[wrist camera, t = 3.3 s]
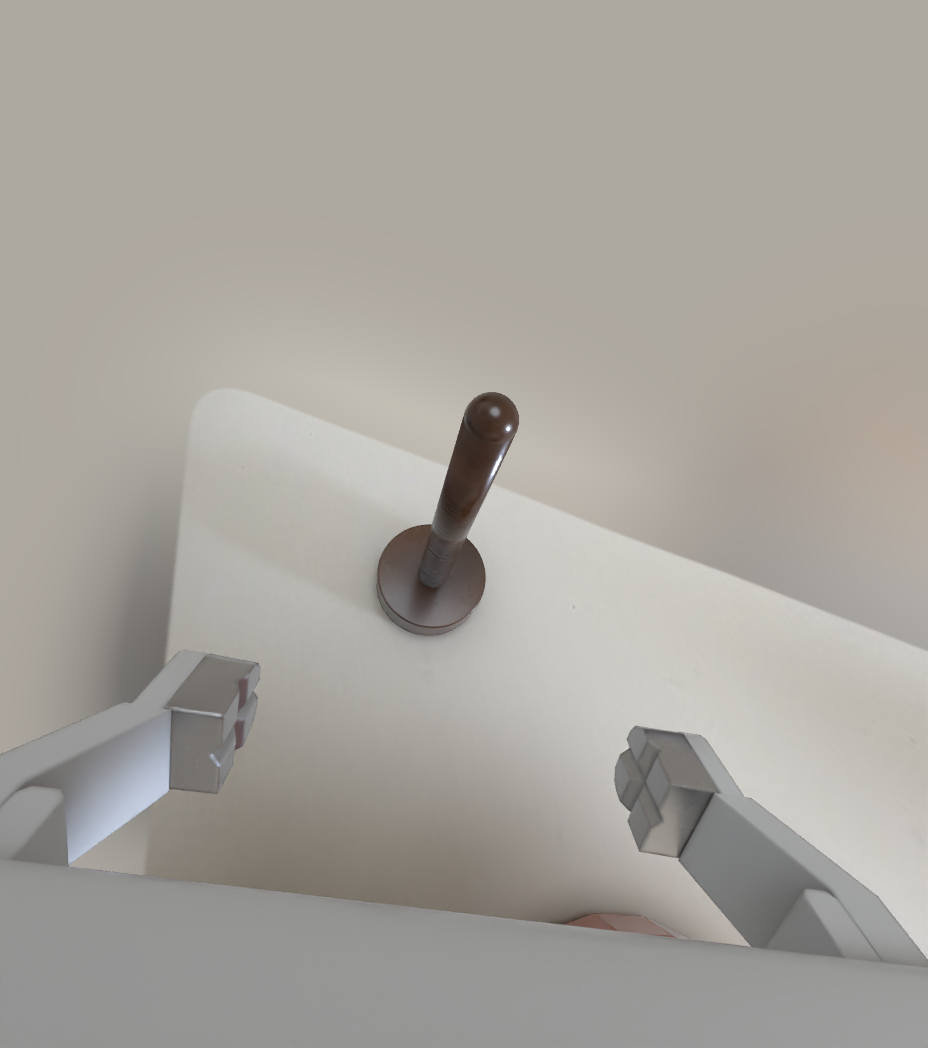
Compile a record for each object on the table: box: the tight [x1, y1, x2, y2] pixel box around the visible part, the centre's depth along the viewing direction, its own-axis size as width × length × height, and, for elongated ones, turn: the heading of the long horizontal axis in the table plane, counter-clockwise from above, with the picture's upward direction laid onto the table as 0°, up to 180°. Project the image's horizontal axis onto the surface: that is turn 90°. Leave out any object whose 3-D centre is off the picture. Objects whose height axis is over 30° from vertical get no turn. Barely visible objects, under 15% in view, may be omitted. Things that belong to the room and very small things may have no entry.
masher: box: [377, 392, 519, 635], centre depth 21 cm, size 6×6×17 cm
